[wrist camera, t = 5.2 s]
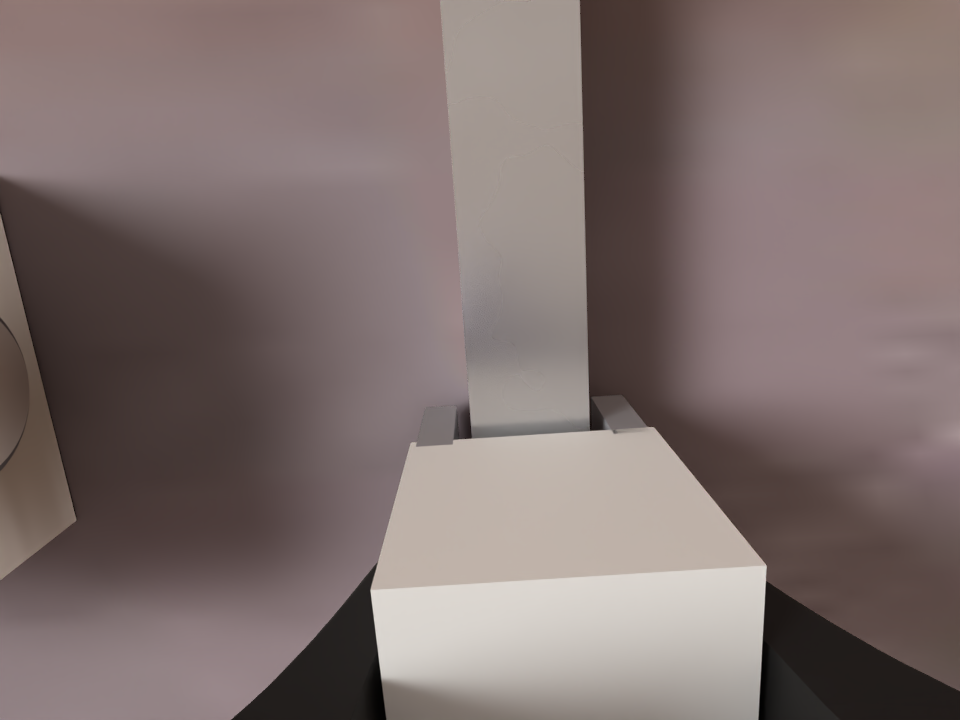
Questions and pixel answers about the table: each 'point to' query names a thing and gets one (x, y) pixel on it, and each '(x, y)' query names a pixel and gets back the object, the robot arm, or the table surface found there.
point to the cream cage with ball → (25, 437)
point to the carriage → (564, 581)
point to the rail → (519, 211)
